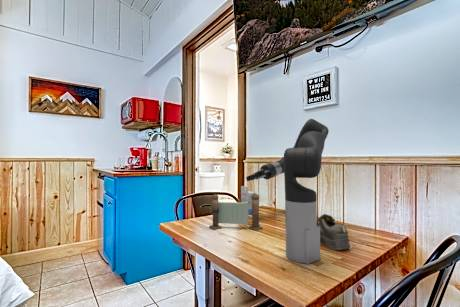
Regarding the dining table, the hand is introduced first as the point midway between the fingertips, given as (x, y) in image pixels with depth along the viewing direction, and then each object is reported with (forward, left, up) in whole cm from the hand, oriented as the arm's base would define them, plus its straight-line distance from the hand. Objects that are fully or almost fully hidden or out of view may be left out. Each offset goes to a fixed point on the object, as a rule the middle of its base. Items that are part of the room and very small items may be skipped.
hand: (247, 178), depth 120 cm
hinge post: (-11, +4, -20) cm, 23 cm away
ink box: (+15, -13, -21) cm, 29 cm away
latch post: (0, +18, -20) cm, 27 cm away
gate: (-3, +12, -19) cm, 22 cm away
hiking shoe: (-38, -6, -21) cm, 44 cm away
